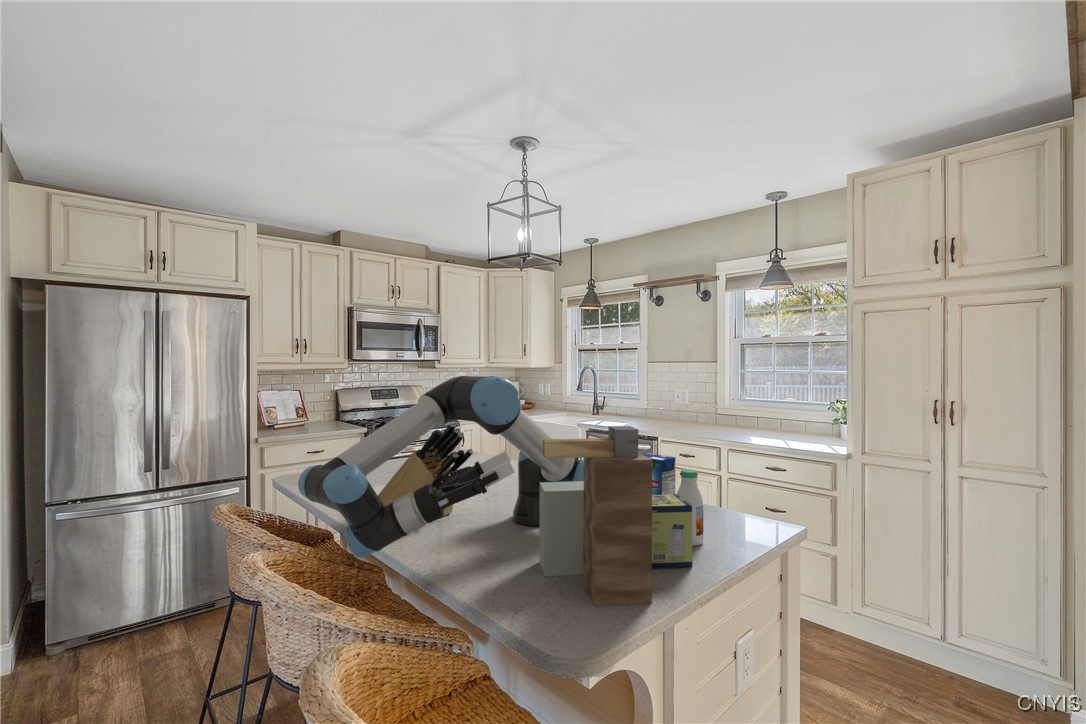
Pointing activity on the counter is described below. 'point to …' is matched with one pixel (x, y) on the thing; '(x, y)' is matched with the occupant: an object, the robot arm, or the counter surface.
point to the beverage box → (662, 474)
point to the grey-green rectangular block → (561, 528)
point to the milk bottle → (693, 503)
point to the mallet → (595, 445)
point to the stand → (618, 530)
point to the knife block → (429, 466)
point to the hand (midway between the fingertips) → (510, 460)
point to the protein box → (671, 532)
